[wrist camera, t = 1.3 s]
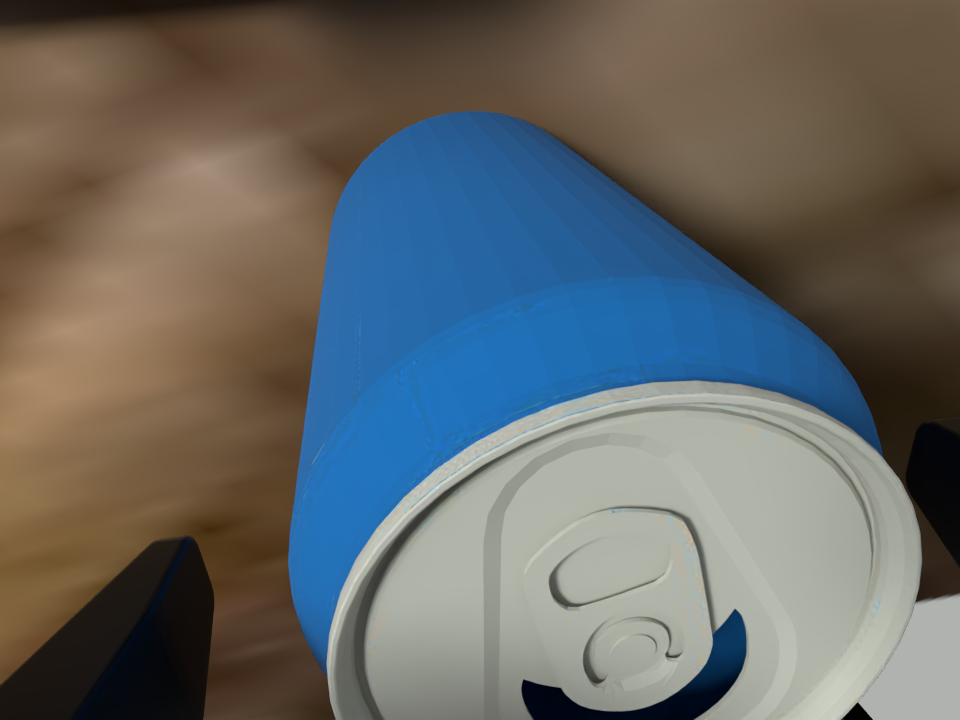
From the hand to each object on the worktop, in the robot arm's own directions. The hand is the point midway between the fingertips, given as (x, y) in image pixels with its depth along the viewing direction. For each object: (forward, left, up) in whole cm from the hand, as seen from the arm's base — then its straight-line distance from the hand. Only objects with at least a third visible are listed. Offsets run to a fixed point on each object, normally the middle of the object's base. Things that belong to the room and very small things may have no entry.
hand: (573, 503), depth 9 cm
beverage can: (0, 0, -10) cm, 10 cm away
